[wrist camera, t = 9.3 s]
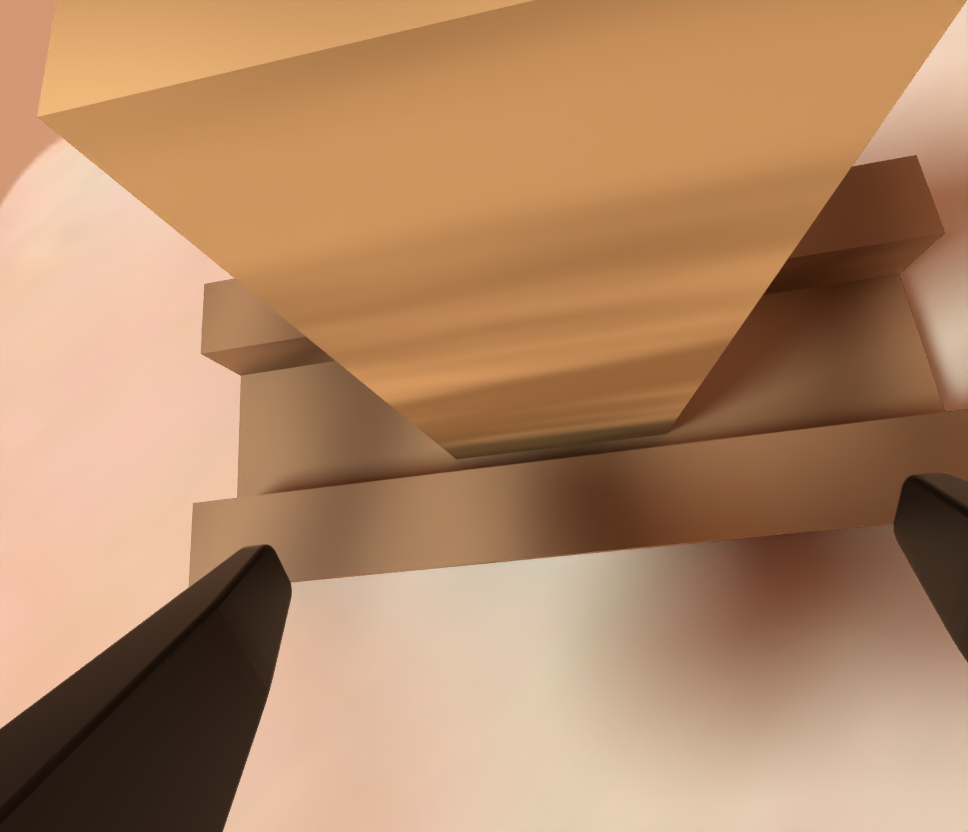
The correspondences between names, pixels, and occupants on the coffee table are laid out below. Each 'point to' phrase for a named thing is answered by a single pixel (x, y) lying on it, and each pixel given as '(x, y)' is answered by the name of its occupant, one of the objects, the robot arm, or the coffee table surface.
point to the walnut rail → (612, 464)
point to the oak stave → (492, 178)
